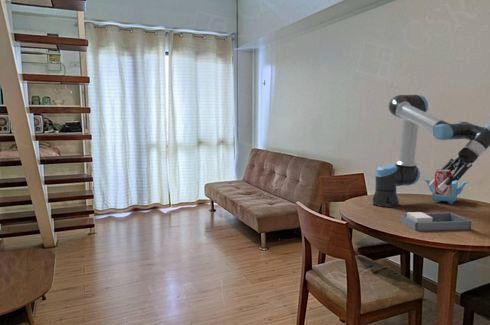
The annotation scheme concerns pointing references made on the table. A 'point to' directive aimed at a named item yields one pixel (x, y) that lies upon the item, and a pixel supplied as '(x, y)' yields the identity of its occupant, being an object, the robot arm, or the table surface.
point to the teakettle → (451, 197)
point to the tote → (438, 222)
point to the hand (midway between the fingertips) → (435, 187)
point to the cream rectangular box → (419, 217)
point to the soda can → (439, 178)
